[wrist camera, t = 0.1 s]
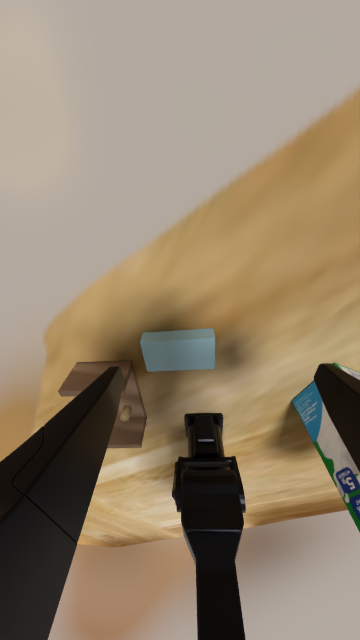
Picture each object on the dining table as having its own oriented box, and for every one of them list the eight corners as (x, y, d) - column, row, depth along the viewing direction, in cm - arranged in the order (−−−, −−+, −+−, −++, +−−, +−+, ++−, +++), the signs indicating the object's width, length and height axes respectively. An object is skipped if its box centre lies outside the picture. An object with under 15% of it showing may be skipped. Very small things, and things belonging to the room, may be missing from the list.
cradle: (146, 417, 36) (141, 447, 31) (102, 418, 36) (91, 448, 32) (131, 360, 29) (121, 389, 24) (76, 362, 29) (58, 391, 25)
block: (212, 326, 26) (215, 337, 24) (213, 356, 28) (215, 368, 26) (143, 330, 26) (139, 342, 24) (149, 359, 29) (147, 371, 27)
